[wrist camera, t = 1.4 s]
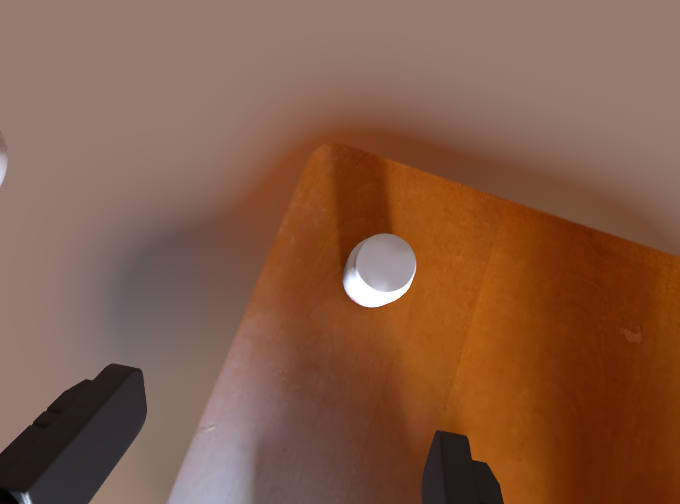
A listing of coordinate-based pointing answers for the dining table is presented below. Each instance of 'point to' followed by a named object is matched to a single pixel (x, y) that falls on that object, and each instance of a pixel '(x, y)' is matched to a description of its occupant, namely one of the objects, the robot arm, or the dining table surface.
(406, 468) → the dining table surface
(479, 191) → the dining table surface
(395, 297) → the pill bottle
